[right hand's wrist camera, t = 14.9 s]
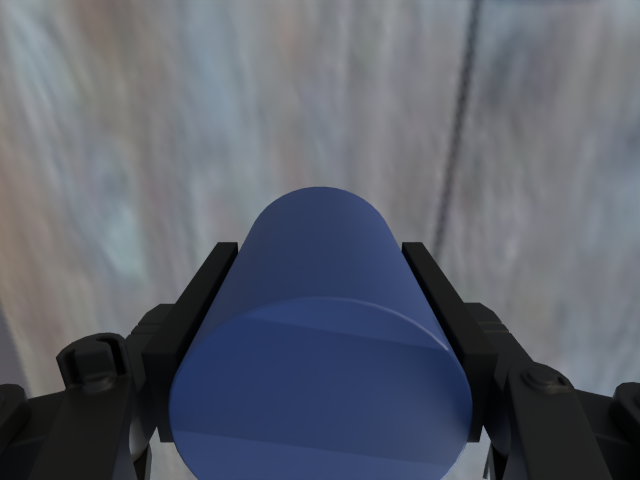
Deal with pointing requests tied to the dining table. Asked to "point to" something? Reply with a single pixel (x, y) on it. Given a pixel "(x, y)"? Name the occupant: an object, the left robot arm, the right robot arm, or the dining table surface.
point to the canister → (320, 357)
